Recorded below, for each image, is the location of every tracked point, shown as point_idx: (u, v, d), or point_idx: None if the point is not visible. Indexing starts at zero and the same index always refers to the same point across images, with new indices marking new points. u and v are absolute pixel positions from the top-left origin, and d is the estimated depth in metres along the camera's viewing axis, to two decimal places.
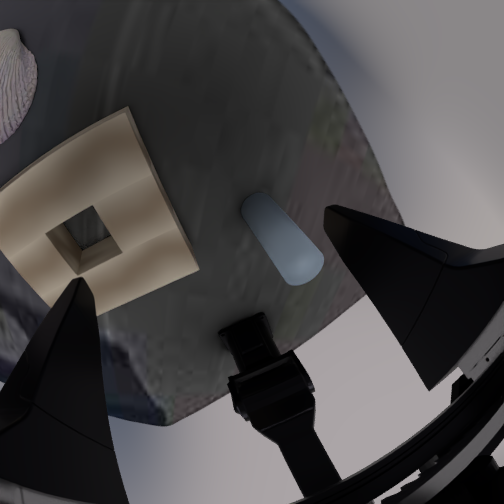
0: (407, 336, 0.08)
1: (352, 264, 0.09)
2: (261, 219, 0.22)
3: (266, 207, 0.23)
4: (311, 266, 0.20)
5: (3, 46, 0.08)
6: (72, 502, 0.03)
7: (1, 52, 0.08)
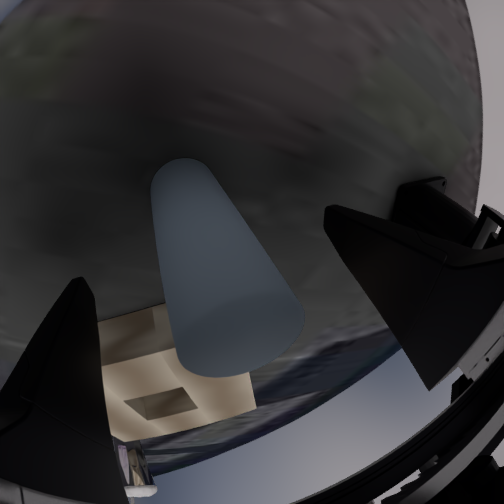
0: (407, 335, 0.08)
1: (352, 264, 0.09)
2: None
3: None
4: (249, 326, 0.06)
5: None
6: (71, 501, 0.03)
7: None
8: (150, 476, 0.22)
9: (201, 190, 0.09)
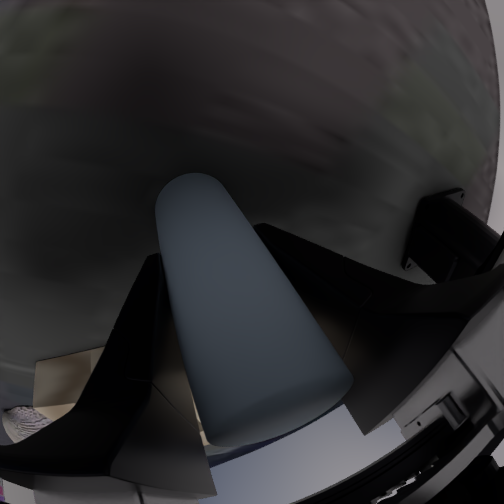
0: None
1: None
2: None
3: None
4: (293, 405, 0.05)
5: (13, 435, 0.13)
6: (173, 497, 0.04)
7: (17, 438, 0.13)
8: None
9: (220, 220, 0.08)
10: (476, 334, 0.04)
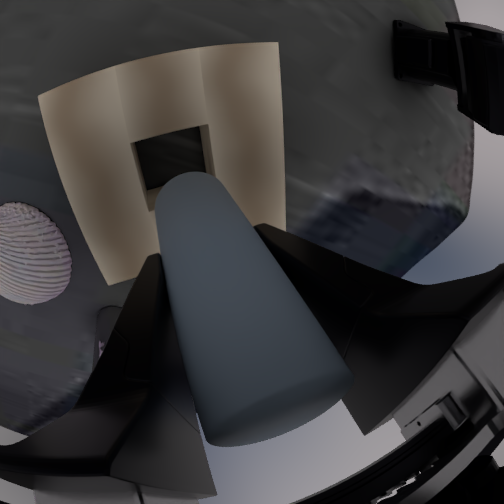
0: None
1: None
2: None
3: None
4: (293, 405, 0.05)
5: None
6: (173, 497, 0.04)
7: None
8: None
9: (220, 219, 0.08)
10: (476, 334, 0.04)
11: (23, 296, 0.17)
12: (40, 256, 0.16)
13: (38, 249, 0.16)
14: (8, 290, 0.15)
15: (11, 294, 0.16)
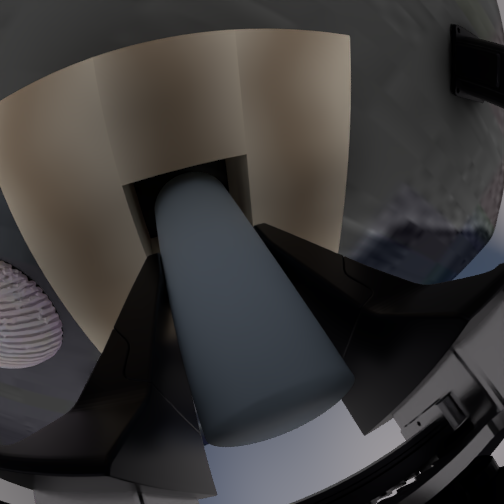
0: None
1: None
2: None
3: None
4: (293, 405, 0.05)
5: None
6: (173, 497, 0.04)
7: None
8: None
9: (220, 219, 0.08)
10: (476, 334, 0.04)
11: (9, 366, 0.12)
12: (20, 326, 0.11)
13: (17, 318, 0.11)
14: None
15: None
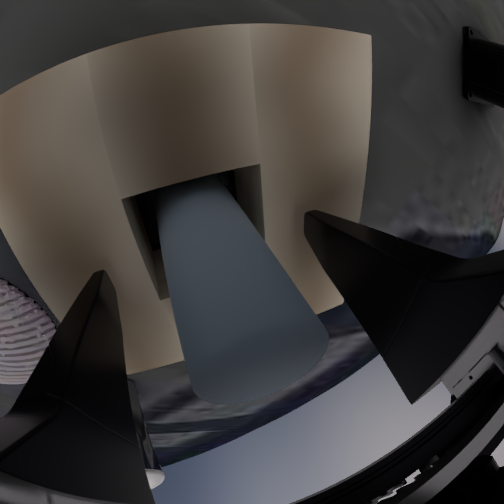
0: (388, 347, 0.08)
1: (331, 272, 0.09)
2: None
3: None
4: (271, 355, 0.05)
5: None
6: (99, 502, 0.04)
7: None
8: (153, 454, 0.14)
9: (212, 200, 0.09)
10: None
11: (9, 383, 0.11)
12: (19, 344, 0.11)
13: (16, 336, 0.11)
14: None
15: None
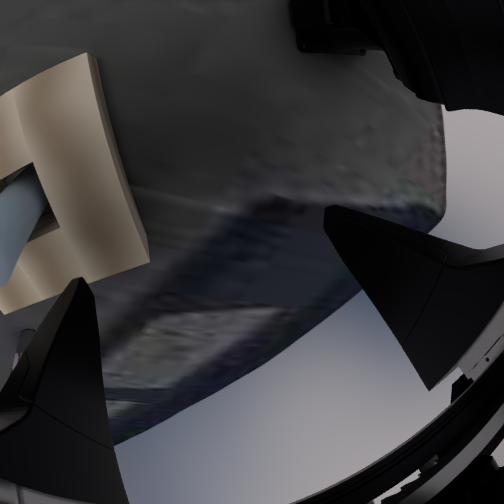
0: (407, 336, 0.08)
1: (352, 264, 0.09)
2: None
3: None
4: None
5: None
6: (72, 502, 0.03)
7: None
8: None
9: (11, 186, 0.11)
10: None
11: None
12: None
13: None
14: None
15: None
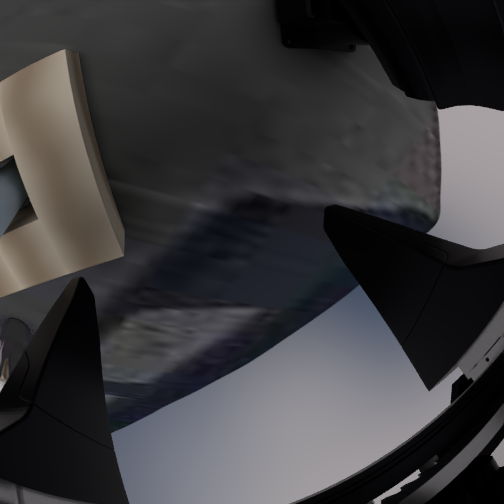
0: (407, 335, 0.08)
1: (352, 264, 0.09)
2: None
3: None
4: None
5: None
6: (72, 502, 0.03)
7: None
8: None
9: None
10: None
11: None
12: None
13: None
14: None
15: None
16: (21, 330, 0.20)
